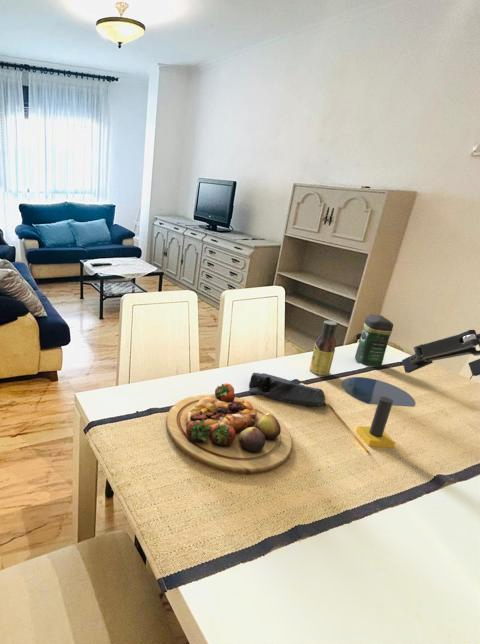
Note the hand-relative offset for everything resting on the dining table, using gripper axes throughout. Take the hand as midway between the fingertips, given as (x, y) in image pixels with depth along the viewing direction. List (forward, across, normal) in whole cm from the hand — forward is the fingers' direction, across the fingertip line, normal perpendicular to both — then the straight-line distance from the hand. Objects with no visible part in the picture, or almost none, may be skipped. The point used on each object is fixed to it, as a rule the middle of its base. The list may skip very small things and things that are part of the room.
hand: (438, 368), depth 79 cm
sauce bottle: (+54, +3, +15) cm, 56 cm away
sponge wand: (+27, 0, -12) cm, 30 cm away
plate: (+45, +16, +6) cm, 48 cm away
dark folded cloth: (+44, -13, +5) cm, 47 cm away
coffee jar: (+62, +27, +23) cm, 71 cm away
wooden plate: (+29, -37, -10) cm, 48 cm away
